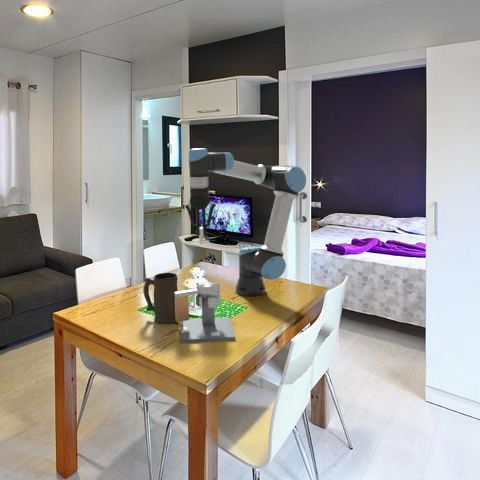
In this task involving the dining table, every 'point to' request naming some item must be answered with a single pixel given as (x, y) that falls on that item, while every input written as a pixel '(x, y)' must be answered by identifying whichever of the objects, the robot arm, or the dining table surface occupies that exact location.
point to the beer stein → (162, 297)
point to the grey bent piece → (202, 291)
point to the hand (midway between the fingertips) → (201, 242)
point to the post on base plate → (206, 327)
